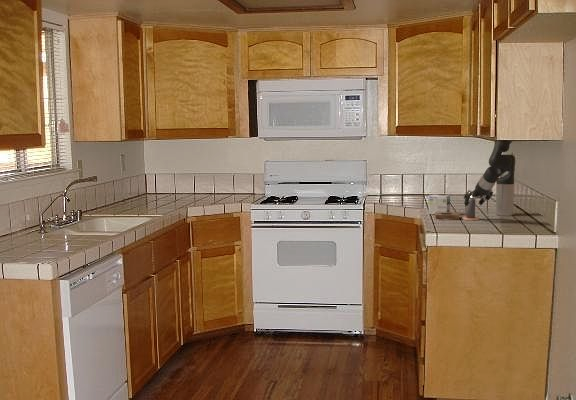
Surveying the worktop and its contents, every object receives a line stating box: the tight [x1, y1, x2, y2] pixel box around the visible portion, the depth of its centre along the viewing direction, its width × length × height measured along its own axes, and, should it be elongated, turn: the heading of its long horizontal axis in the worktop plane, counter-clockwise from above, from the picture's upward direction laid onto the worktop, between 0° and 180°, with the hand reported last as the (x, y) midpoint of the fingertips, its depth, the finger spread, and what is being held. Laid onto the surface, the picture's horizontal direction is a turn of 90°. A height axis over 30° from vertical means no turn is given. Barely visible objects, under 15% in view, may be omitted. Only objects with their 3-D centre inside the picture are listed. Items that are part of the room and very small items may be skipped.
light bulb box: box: [428, 194, 451, 215], centre depth 356 cm, size 11×7×11 cm, turn 59°
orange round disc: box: [461, 216, 480, 222], centre depth 335 cm, size 9×9×1 cm
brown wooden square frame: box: [434, 211, 460, 221], centre depth 340 cm, size 12×12×2 cm
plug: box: [465, 195, 476, 218], centre depth 334 cm, size 5×5×13 cm
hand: (472, 204), depth 332 cm, fingers open, 8 cm apart
